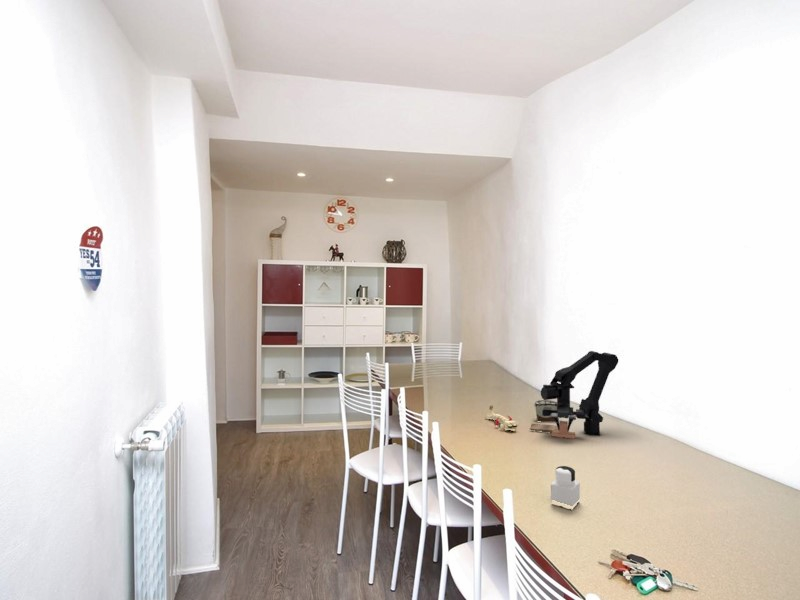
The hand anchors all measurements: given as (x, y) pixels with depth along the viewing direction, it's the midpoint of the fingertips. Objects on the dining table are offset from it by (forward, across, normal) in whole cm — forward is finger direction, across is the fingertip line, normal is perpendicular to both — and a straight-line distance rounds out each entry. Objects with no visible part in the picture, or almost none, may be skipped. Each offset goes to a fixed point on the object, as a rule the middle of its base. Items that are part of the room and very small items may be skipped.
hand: (563, 430), depth 220 cm
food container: (+3, -9, +22) cm, 25 cm away
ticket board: (+2, -7, +6) cm, 10 cm away
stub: (+2, 0, 0) cm, 2 cm away
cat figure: (+3, -30, +8) cm, 31 cm away
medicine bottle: (+3, +2, -68) cm, 68 cm away
